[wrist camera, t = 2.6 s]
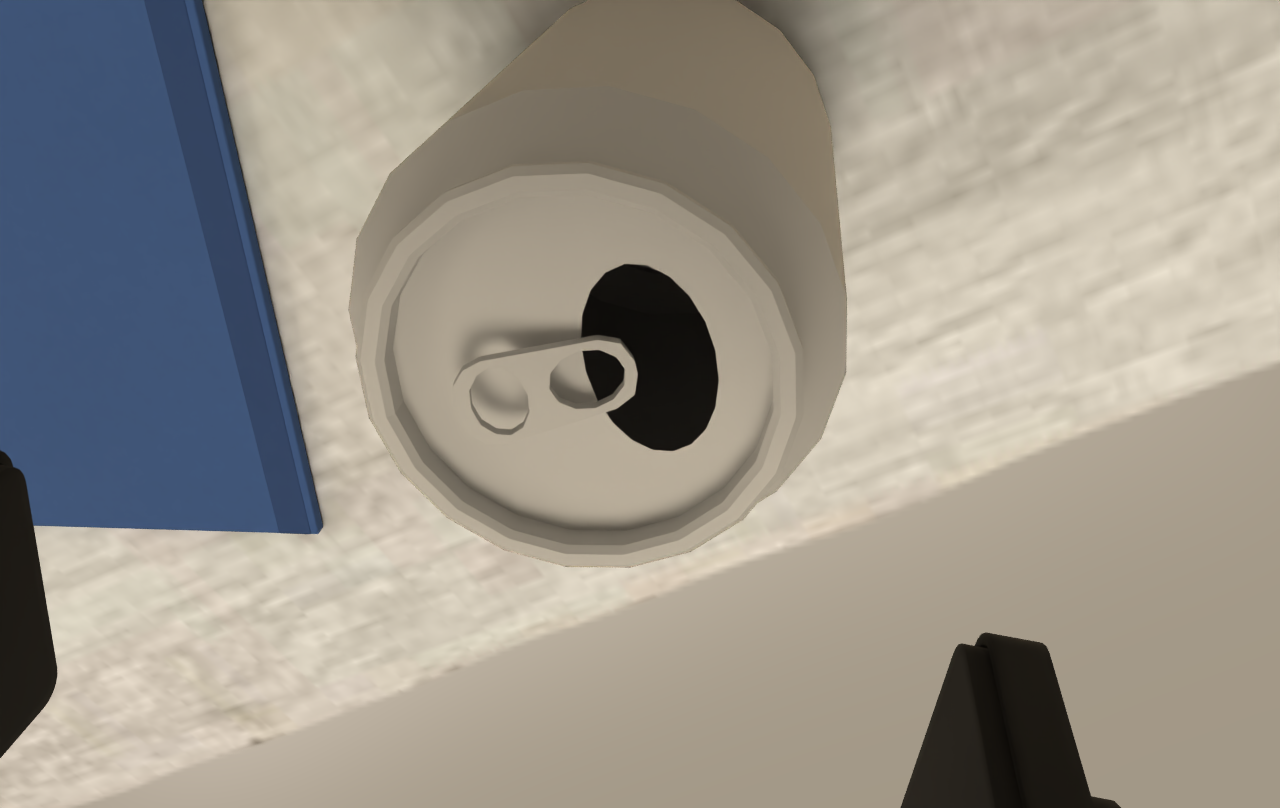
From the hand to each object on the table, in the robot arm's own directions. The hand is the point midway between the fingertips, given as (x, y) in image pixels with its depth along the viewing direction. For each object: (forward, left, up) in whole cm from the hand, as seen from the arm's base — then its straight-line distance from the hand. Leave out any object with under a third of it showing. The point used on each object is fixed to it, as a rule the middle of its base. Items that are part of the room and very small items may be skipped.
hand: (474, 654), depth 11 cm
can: (0, 0, -17) cm, 17 cm away
